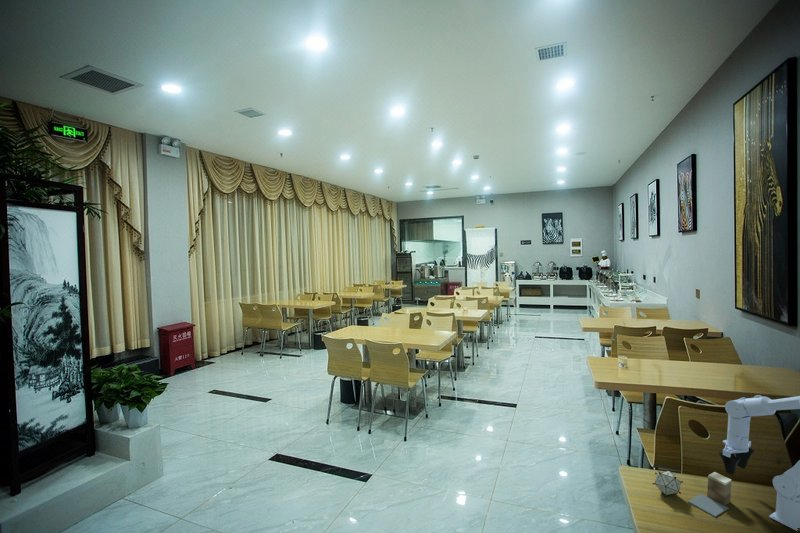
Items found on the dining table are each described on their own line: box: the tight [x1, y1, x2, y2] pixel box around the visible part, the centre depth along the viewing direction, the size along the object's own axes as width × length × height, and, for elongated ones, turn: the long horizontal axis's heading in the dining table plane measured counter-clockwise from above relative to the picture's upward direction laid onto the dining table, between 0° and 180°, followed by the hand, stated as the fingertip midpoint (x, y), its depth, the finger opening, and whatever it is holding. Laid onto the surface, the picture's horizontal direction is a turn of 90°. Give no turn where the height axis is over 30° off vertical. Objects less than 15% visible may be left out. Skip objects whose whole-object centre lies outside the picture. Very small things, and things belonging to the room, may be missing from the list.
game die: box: [651, 467, 684, 499], centre depth 140 cm, size 9×8×10 cm
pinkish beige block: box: [706, 471, 732, 506], centre depth 137 cm, size 5×4×8 cm
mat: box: [688, 493, 729, 518], centre depth 134 cm, size 8×8×1 cm
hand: (735, 470), depth 141 cm, fingers open, 7 cm apart
